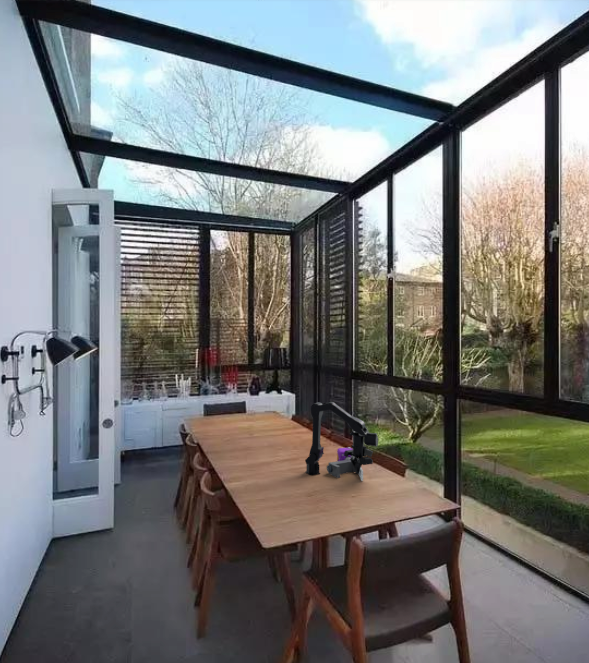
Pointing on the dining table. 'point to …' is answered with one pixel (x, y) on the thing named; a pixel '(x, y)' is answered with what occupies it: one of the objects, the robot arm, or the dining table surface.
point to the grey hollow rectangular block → (340, 468)
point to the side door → (361, 474)
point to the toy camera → (341, 454)
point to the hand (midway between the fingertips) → (357, 472)
